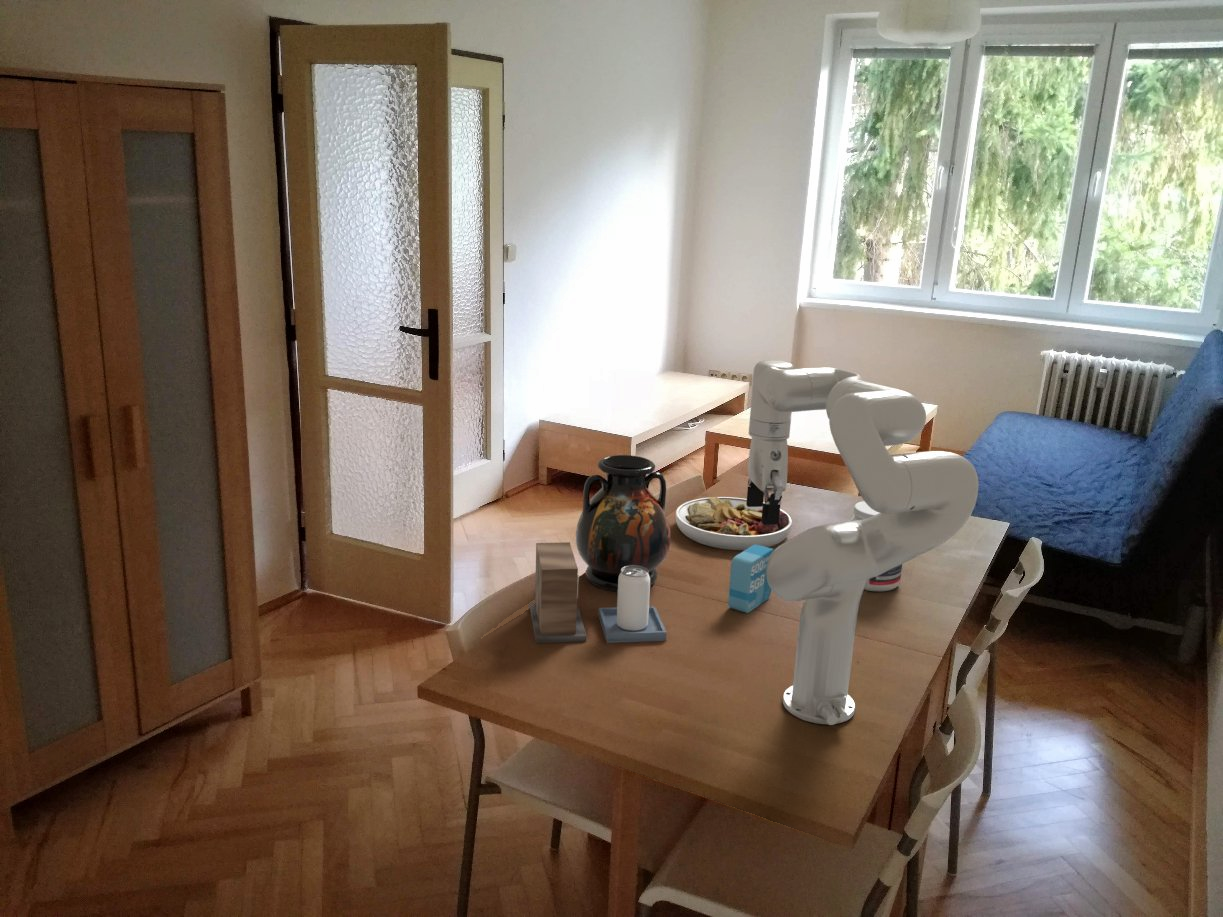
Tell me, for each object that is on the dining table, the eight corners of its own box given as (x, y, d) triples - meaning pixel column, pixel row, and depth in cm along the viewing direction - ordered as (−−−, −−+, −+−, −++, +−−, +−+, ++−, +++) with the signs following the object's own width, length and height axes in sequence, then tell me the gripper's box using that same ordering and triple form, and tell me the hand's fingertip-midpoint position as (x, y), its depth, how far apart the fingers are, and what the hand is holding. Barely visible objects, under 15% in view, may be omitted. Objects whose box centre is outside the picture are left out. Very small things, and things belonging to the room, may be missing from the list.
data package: (745, 615, 210) (750, 563, 207) (727, 609, 213) (731, 558, 209) (770, 597, 220) (775, 547, 216) (752, 591, 222) (757, 542, 219)
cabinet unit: (586, 641, 196) (588, 570, 192) (536, 643, 194) (537, 571, 190) (576, 606, 211) (578, 540, 207) (529, 608, 210) (531, 541, 205)
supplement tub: (903, 578, 233) (913, 505, 228) (894, 598, 222) (904, 521, 216) (849, 567, 238) (857, 495, 233) (837, 586, 227) (845, 511, 221)
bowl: (662, 544, 248) (663, 515, 246) (688, 508, 276) (690, 481, 274) (781, 562, 240) (784, 532, 238) (796, 522, 268) (799, 495, 266)
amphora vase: (587, 602, 213) (591, 479, 205) (565, 564, 233) (568, 450, 225) (681, 594, 219) (688, 474, 211) (651, 558, 239) (657, 447, 231)
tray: (666, 640, 198) (666, 632, 197) (606, 642, 196) (607, 634, 195) (654, 614, 209) (654, 606, 208) (598, 616, 207) (598, 608, 206)
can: (610, 627, 201) (613, 572, 197) (625, 615, 206) (627, 562, 203) (639, 634, 198) (642, 579, 194) (653, 622, 203) (656, 568, 200)
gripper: (804, 440, 175) (795, 530, 180) (774, 416, 191) (767, 499, 196) (763, 440, 174) (756, 531, 178) (737, 416, 190) (730, 500, 195)
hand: (762, 514), depth 187 cm, fingers open, 9 cm apart
